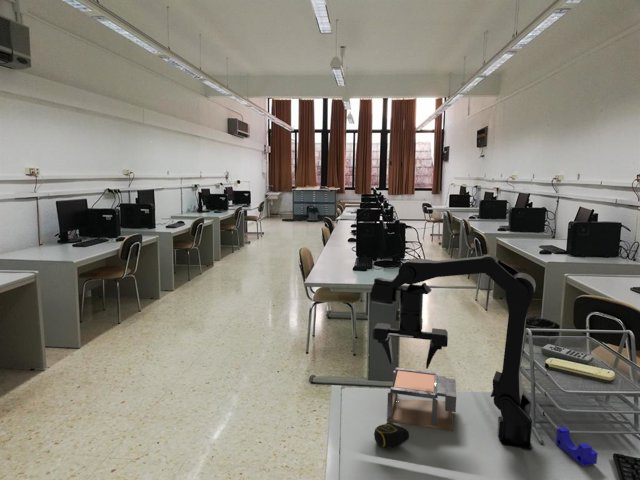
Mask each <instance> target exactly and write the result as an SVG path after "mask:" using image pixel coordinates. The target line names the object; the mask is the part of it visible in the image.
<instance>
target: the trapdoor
mask: <svg viewBox="0 0 640 480" xmlns="http://www.w3.org/2000/svg"><path fill="white" fill-rule="evenodd" d="M456 382H457V381H456V378H449V377H448V378H447V377H446V376H444V375H437V374H436V375H429V374H421V373H413V372H405V371H398V372H397V376H396V380H395V385H394V387H395V388H402V389H410V390H417V391H424V392H432V393H435V396H437V397H443V398H444V401H445V411H451V412H452V413H456V411H457V410H456V409H457V386H456V385H457V384H456Z"/></svg>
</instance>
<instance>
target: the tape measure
mask: <svg viewBox="0 0 640 480" xmlns="http://www.w3.org/2000/svg"><path fill="white" fill-rule="evenodd" d="M409 433H410V431H409V430H407V429H406V428H404V427H403V426H400V425H398V424H395V423H393V422H391V421H387V423H386V422H385V423H383V424H380V425H378V426H377V427H375V429H374V432H373V435H374V437H373V438H374V440H375V442H376V444H377V445H378V446H380V447H382V448H388V449H389V448H396V447H400V446H401V445H402V444H404V443H405V442H407V441H408V440H409V438H410V434H409Z"/></svg>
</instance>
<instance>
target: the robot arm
mask: <svg viewBox="0 0 640 480" xmlns="http://www.w3.org/2000/svg"><path fill="white" fill-rule="evenodd" d="M478 274H485V275H487V276H488V277H489V278H490V279H491V280H492V281H493V282H494V283H495V284H497V286H498V287H500V288H501V289H502V290H503V291H505V296H506V297H505V299H506V307H507V313H508V317H507V328H506V333H505V334H506V337H505V343H504V344H505V345H504V354H503V361H502V370H501V372H500V371H498V370H496V371H495V373H494V376H493V379H492V391H491V394H490V397H491V398H493V404H494V406H495V407H496V408H497V409H498V410H499V411H500V415H499V416H498V417H497V430H496V431H497V432H496V434H497V437H498V439H499V440H500V444H501V445H503V446H507V447H512V448H520V449H523V450H528V451H529V450H533V446H532V444H531V440H532V426H533V425H532V424H533V420H532V417H531V413H532V412H531V411H532V402H531V400H530V399H529V398H528V397H527V396H526V395H525V394H524V391H523V390H524V389H523V380H522V375H521V374H522V373H521V364H522V357H523V347H524V340H525V332H526V331H525V330H526V324H527V323H526V321H527V315H528V313H529V311H530V307H531V304H532V301H533V297H534V294H535V291H536V286H537V285H536V280H535V279H534V278H533V277H532V276H531V275H530V274H528V273H525V272H520V271H518V270H516V268H514V267H512V266H510V265H508V264H507V263H505V262H503V261H502V260H501V259H499V258H498V257H497V256H496V255H494V254H486V255H482V256H481V255H480V256H473V257H464V258H463V257H461V258H454V259H445V260H444V259H442V260H432V259H427V258H426V259H425V258H411V259H409V260H407V261H405V262H403V263H401V265H400V266H399V267H398V274H397V275H396V276H395V278H393V279H389V278H388V279H386V278H384V277H376V278H374V279H373V281H374V282H373V284H372V287H371V290H370V301H371V302H372V303H373V304H379V305H384V306H385V305H387V306H392V307H393V306H395V305H396V303H399V309H396V311H395V321H396V322H398V328H391V323H382V322H377V323H376V324H375V326H374V327H373V329H372V339H373V340H375V341H376V340H377V343H378V344H381V346H382V348H383V349H384V351H385V354H386V356H387V359H388V361H389V364H390V365H393V347H392V337H399V338H406V339H416V340H427V341H429V346H428V347H429V348H428V352H427V358H426V362H425V363H426V365H425V369H428V368H429V367H430V365H431V362H432V360H433V358H434V356H435V354H436V353H437V351H438V350H439V351H440V350H442V349H443V348H446V347H448V340H449V335H448V333H449V332H448V330H447V329H443V328H433V327H432V328H431V332H430V331H422V330H423V322H424V321H423V307H424V306H423V301H424V295H428V294H430V293H431V292H432V288H430V286H428V285H427V283H426V282H425V281H429V280H432V279H436V278H442V277H443V278H444V277H455V276H465V275H468V276H469V275H478ZM418 283H419V284H418ZM420 283H421V284H420ZM404 285H408V286H404Z"/></svg>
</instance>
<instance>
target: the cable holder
mask: <svg viewBox="0 0 640 480" xmlns="http://www.w3.org/2000/svg"><path fill="white" fill-rule="evenodd" d="M558 428H559V429H558ZM555 437H556V438H555V445H557V446H558V447H559V448H561V450H562V451H564V452H565V453H566V454H568V455H569V456H570V457H571V458H573V460H575V461H576V462H578V463H579V464H580V465H581V466H582V467H583V466H590V465H591V466H592V465H597V463H598V452H597V451H595V450H594V449H593V447H592V446H591V445H590V444H589V443H587V442H586V443H579V444H578V445H577V446H576V444H575V443H574V442H573V440H572V438H571V434H570V430H569V429H568V428H567V427H566V426H559V427H556V436H555Z"/></svg>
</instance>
